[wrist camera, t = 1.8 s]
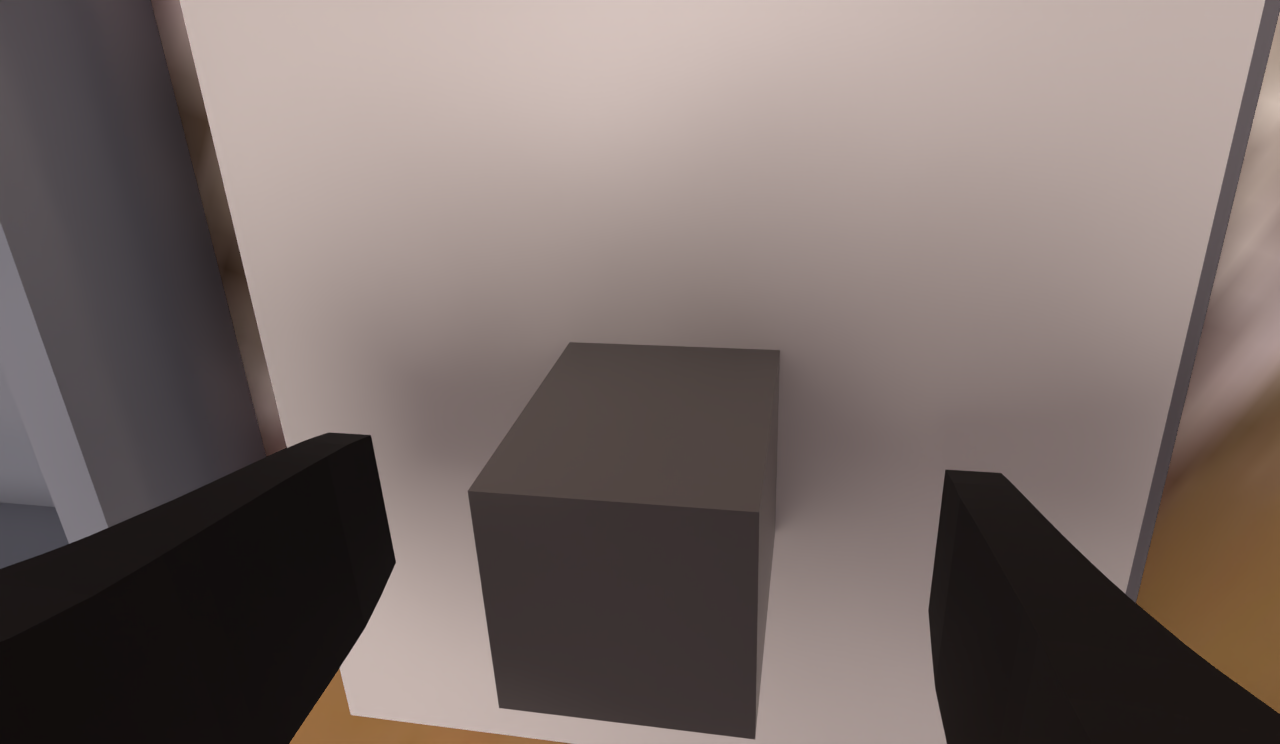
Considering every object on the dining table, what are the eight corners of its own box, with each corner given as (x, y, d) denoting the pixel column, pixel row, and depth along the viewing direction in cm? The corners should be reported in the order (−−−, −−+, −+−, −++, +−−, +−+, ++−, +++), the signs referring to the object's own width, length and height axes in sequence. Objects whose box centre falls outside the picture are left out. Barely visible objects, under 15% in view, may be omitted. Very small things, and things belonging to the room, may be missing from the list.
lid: (1250, -75, 10) (1581, -107, 5) (1063, 768, 15) (1155, 1085, 11) (211, -24, 12) (-121, -16, 8) (370, 684, 18) (223, 914, 13)
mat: (1291, -126, 10) (1313, -130, 9) (1082, 769, 16) (1089, 792, 15) (194, -61, 13) (171, -63, 12) (363, 682, 18) (352, 700, 18)
